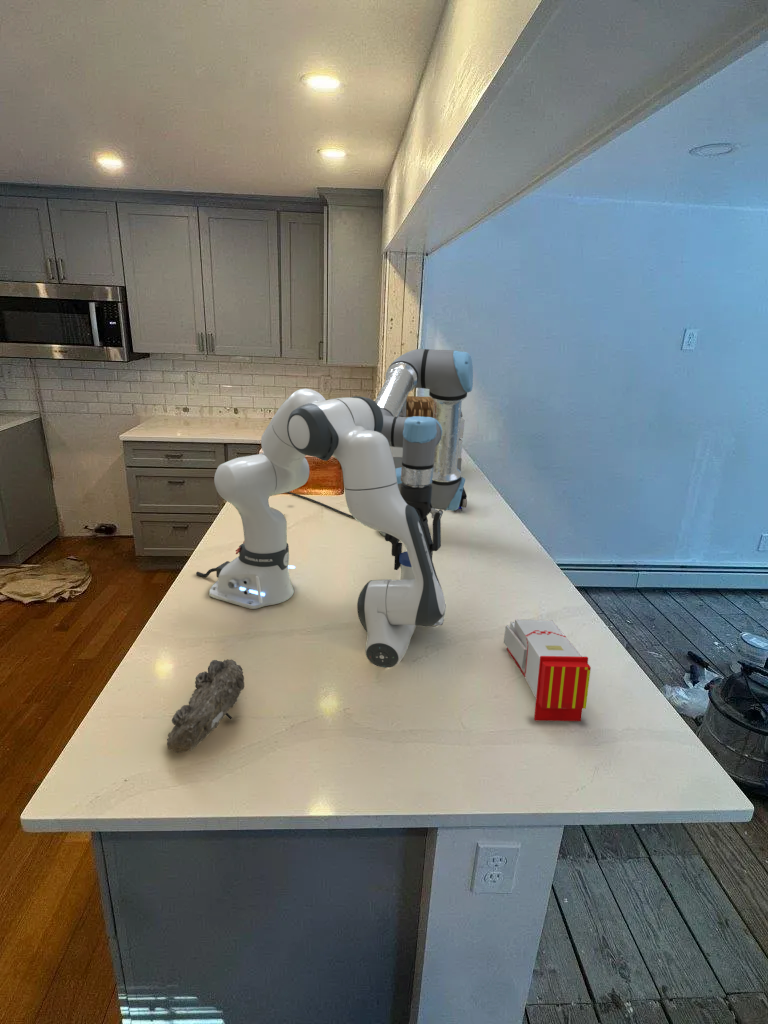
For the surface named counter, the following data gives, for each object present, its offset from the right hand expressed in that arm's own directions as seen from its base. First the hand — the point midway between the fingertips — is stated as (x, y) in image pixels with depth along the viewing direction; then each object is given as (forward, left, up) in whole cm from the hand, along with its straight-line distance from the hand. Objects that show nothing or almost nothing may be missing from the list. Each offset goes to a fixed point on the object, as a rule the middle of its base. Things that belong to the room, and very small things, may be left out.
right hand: (410, 570), depth 142 cm
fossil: (+5, -56, -13) cm, 58 cm away
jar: (0, 0, -13) cm, 13 cm away
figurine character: (-51, +75, -13) cm, 91 cm away
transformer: (-96, +97, -13) cm, 137 cm away
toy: (+37, +5, -13) cm, 39 cm away
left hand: (-1, +1, -7) cm, 7 cm away
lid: (0, 0, +4) cm, 4 cm away
